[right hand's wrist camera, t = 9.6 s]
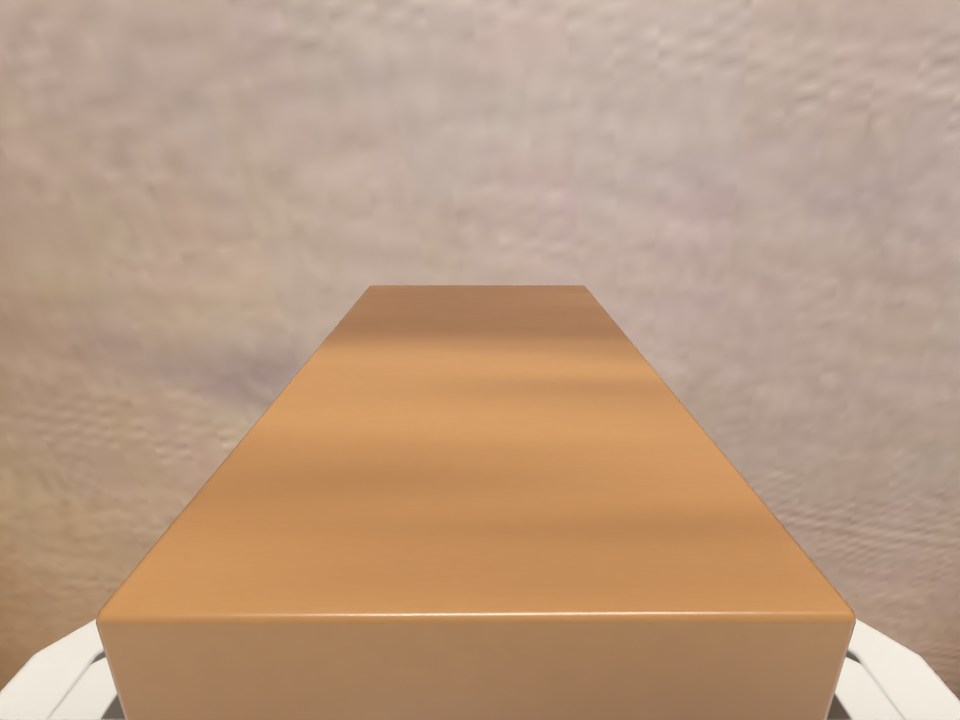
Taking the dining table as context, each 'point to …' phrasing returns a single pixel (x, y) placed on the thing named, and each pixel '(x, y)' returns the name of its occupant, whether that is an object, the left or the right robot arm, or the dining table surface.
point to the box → (476, 541)
